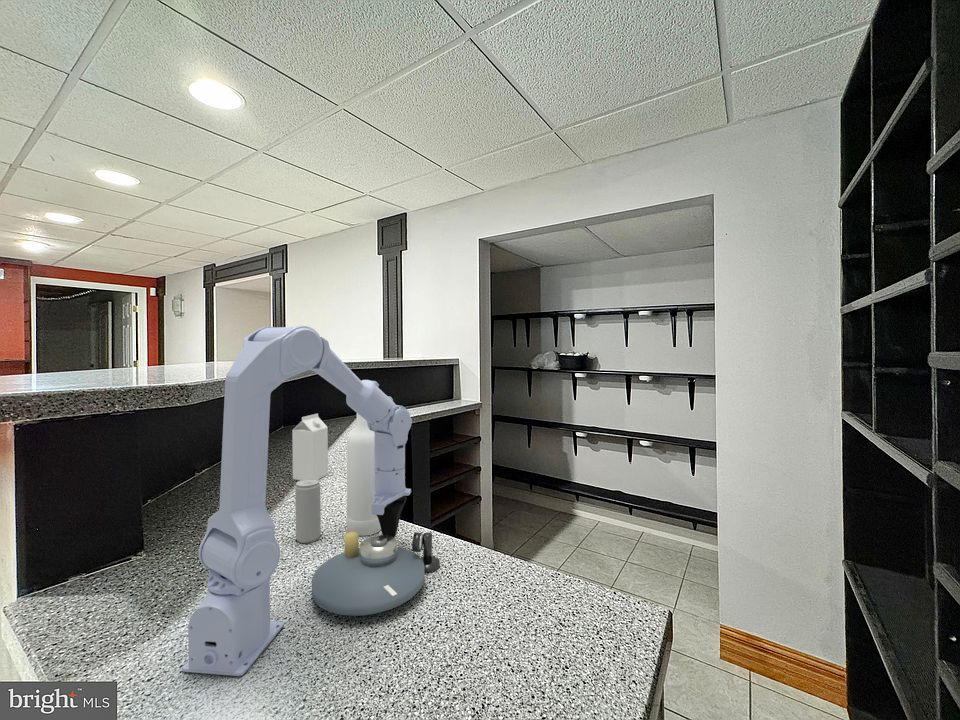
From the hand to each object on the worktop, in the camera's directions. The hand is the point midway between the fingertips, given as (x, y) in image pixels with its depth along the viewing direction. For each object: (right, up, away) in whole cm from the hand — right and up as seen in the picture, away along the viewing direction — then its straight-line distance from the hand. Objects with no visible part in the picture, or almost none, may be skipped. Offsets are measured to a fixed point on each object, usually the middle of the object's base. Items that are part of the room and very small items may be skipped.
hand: (389, 536), depth 80 cm
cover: (-1, -1, -6) cm, 6 cm away
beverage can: (-18, -4, +7) cm, 20 cm away
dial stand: (+8, -4, -3) cm, 9 cm away
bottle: (-8, -3, +12) cm, 15 cm away
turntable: (-1, -3, -11) cm, 11 cm away
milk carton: (-34, -2, +46) cm, 58 cm away
